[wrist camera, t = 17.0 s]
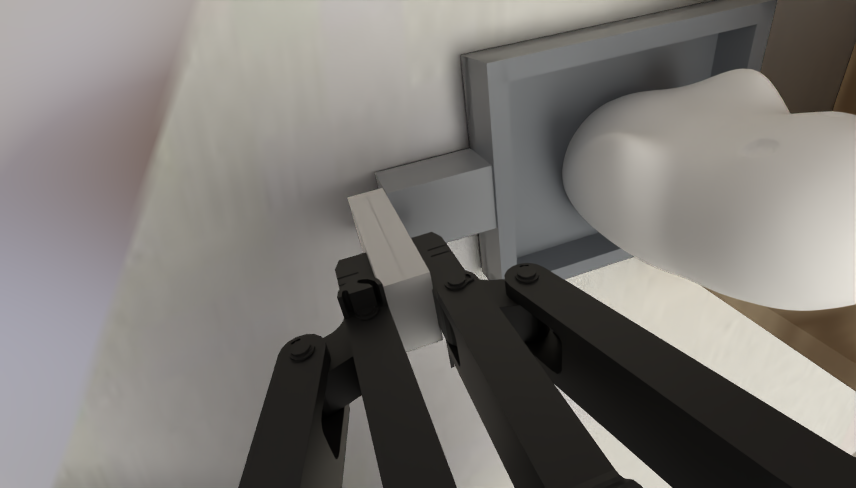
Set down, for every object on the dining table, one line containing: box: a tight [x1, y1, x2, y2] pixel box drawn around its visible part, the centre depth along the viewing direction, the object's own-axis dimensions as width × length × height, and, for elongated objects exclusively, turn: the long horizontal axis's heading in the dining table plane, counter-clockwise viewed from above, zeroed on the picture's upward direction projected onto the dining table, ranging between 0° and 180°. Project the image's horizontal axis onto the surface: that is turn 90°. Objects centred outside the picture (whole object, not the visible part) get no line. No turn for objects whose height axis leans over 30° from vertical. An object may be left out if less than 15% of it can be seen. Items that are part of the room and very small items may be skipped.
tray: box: [375, 0, 777, 280], centre depth 21 cm, size 18×11×3 cm, turn 99°
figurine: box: [562, 69, 856, 311], centre depth 17 cm, size 7×8×12 cm
